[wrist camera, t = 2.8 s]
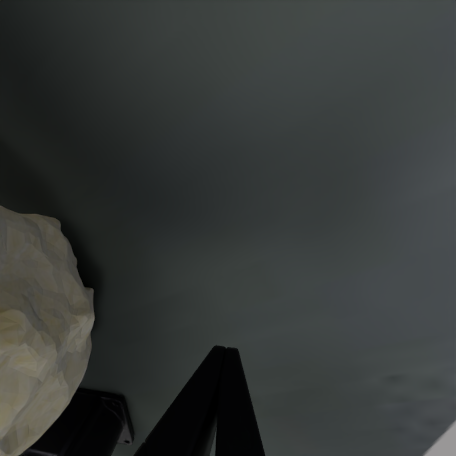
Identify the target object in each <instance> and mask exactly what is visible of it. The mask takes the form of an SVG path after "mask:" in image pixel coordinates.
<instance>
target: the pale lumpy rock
mask: <svg viewBox="0 0 456 456" xmlns="http://www.w3.org/2000/svg"><path fill="white" fill-rule="evenodd" d="M76 266H77V258H76V257H75V256H74V254H73V251H72V247H71V245H70V243H69V241H68V239H67V238H66V237H65V236H64V235H63V234H62V232H61V224H60V221H58V220H57V219H56V218H52V217H48V216H42V215H39V214H19V213H17V212H14V211H11V210H9V209H6V208H5V207H3V206H1V205H0V456H19V455H20V454H21V453H22V452H24V451H25V450H26V449H27V448H29V447H30V446H31V445H32V444H34V443H35V442H36V441H37V440H38V439H39V438H40V437H41V436H42V435H43V434H44V433H45V432H46V430H47V429H48V428H49V427H50V426H51V425H52V424H53V423H54V422H55V420H56V419H57V418H58V417H59V416H60V415H61V413H62V412H63V411H64V409H65V408H66V407H67V406H68V404H69V403H70V401H71V399H72V396H73V395H74V393H75V392H76V390H77V388H78V386H79V385H80V383H81V381H82V379H83V376H84V374H85V371H86V369H87V366H88V360H89V357H90V353H91V348H92V343H91V335H90V332H91V330H92V327H93V323H94V319H95V316H94V309H93V293H94V290H93V289H92V288H87V287H84V286H83V283H82V280H81V279H80V277H79V273H78V270H77V268H76Z"/></svg>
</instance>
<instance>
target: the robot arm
mask: <svg viewBox="0 0 456 456" xmlns="http://www.w3.org/2000/svg"><path fill="white" fill-rule="evenodd" d="M216 427H217V431H216ZM215 432H216V451H215V456H265V453H264V449H263V445H262V441H261V437H260V433H259V429H258V425H257V421H256V417H255V413H254V409H253V406H252V402H251V398H250V394H249V390H248V386H247V382H246V378H245V374H244V370H243V366H242V362H241V359H240V355H239V351H238V349H237V348H231V347H227V348H226V347H224V346H217V345H216V346H214V347H213V348H212V350H211V351H210V352H209V354H208V355H207V356H206V358H205V359H204V360H203V362H202V363H201V364H200V366H199V367H198V369H197V370H196V371H195V373H194V374H193V375H192V377H191V378H190V379H189V381H188V382H187V384H186V385H185V386H184V388H183V389H182V390H181V392H180V393H179V394H178V396H177V397H176V399H175V400H174V401H173V403H172V404H171V405H170V407H169V408H168V409H167V411H166V412H165V414H164V415H163V416H162V418H161V419H160V420H159V422H158V423H157V424H156V426H155V427H154V429H153V430H152V431H151V433H150V434H149V435H148V437H147V438H146V440H145V442H144V443H142V445H141V446H140V447H139V449H138V450H137V452H136V453H135V454H134V456H210V452H211V448H212V444H213V440H214V436H215ZM133 440H134V434H133V431H132V427H131V423H130V419H129V415H128V411H127V408H126V404H125V400H124V398H123V397H121V396H118V395H113V394H107V393H101V392H95V391H90V390H84V389H78V388H77V390H76V392H75V393H74V395H73V396H72V399H71V401H70V403H69V404H68V406H67V407H66V408H65V409H64V411H63V412H62V413H61V415H60V416H59V417H58V418H57V419H56V420H55V422H54V423H53V424H52V425H51V426H50V427H49V428H48V429H47V430H46V432H45V433H44V434H43V435H42V436H41V437H40V438H39V439H38V440H37V441H36V442H35V443H34V444H32V445H31V446H30V447H29V448H27V449H26V450H25V451H24V452H23V454H22V455H21V456H111V455H112V453H113V451H114V449H115V446H116V444H117V443H121V444H126V445H131V444H132V443H133Z"/></svg>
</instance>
